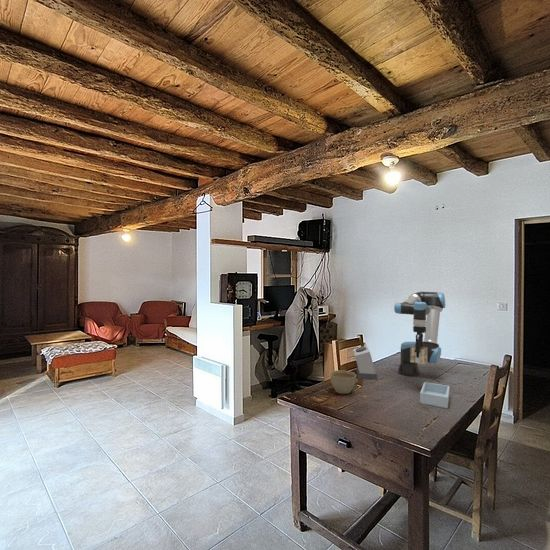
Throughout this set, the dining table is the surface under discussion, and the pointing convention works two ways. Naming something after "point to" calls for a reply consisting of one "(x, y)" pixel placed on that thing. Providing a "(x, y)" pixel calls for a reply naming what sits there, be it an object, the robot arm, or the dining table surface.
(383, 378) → the dining table surface
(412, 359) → the birch crate
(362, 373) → the alarm clock
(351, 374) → the planter bowl
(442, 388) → the light blue crate
